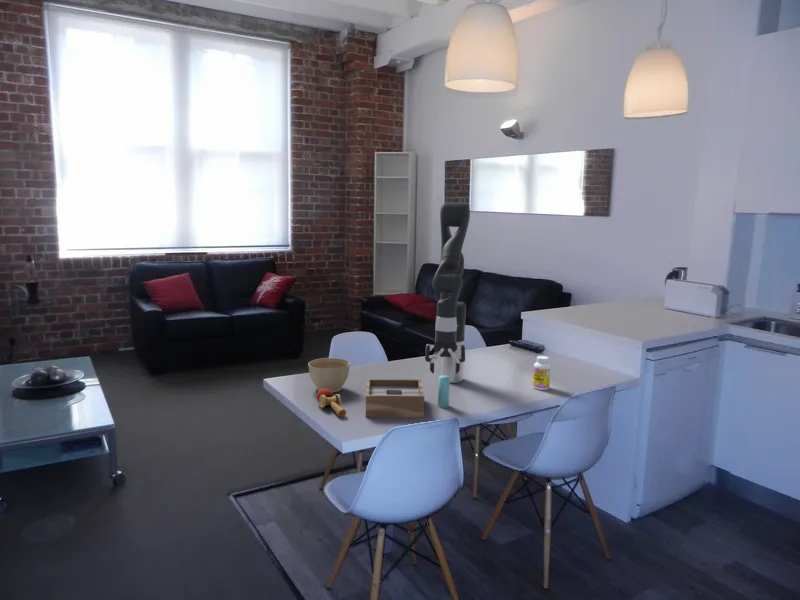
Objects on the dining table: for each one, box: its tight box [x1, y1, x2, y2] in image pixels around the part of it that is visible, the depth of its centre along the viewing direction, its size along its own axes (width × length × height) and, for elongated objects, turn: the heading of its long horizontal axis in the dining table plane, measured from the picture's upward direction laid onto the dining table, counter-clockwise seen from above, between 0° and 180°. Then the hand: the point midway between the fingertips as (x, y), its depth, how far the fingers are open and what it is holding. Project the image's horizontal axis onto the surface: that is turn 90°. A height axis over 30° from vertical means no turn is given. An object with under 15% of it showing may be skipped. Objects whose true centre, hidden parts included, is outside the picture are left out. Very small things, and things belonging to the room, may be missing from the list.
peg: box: [437, 374, 450, 409], centre depth 217 cm, size 4×4×11 cm
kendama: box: [316, 389, 347, 418], centre depth 211 cm, size 8×6×18 cm
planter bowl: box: [307, 357, 351, 394], centre depth 233 cm, size 16×16×11 cm
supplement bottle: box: [532, 355, 552, 391], centre depth 241 cm, size 7×7×13 cm
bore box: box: [365, 378, 425, 418], centre depth 215 cm, size 20×20×8 cm
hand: (444, 372), depth 216 cm, fingers open, 8 cm apart
